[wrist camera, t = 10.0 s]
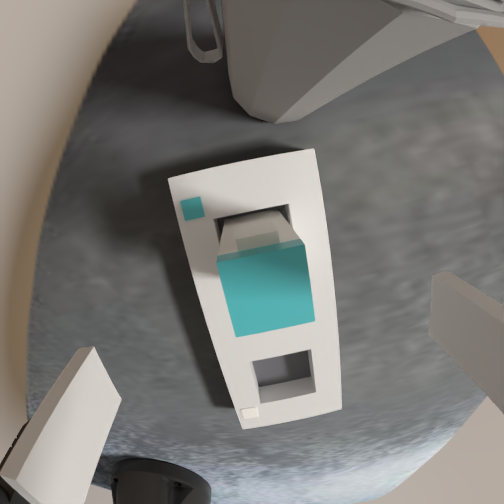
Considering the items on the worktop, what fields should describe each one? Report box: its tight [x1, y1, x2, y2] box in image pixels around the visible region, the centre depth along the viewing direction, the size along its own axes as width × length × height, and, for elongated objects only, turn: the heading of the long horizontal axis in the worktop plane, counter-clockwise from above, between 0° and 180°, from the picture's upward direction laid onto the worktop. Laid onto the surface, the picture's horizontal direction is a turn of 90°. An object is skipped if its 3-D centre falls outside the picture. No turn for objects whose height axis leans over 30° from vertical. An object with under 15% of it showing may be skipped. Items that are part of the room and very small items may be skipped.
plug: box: [216, 209, 315, 337], centre depth 19 cm, size 4×5×10 cm
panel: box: [168, 149, 342, 429], centre depth 25 cm, size 10×24×3 cm, turn 11°
